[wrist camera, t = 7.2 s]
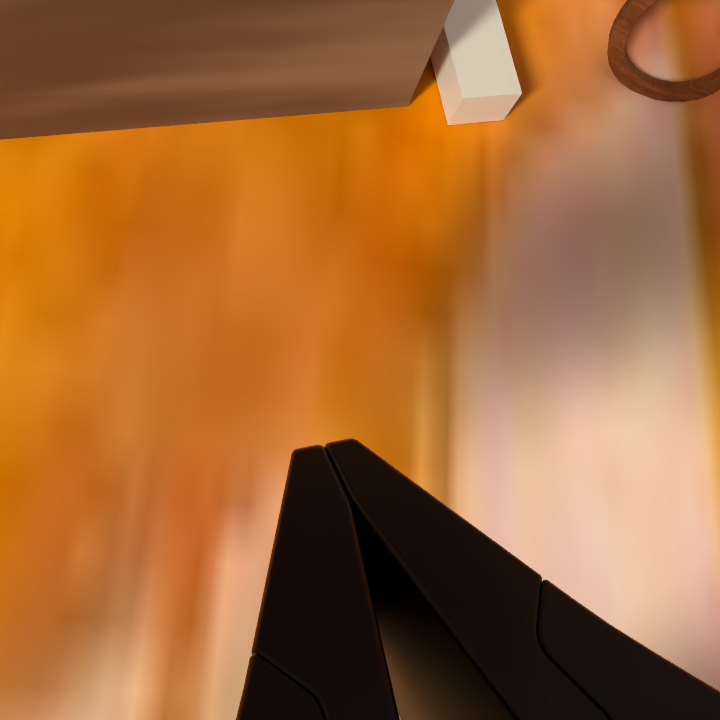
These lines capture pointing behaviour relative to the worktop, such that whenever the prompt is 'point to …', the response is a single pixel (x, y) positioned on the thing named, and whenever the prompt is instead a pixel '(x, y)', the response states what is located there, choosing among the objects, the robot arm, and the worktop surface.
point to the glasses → (640, 81)
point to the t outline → (474, 64)
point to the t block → (205, 60)
